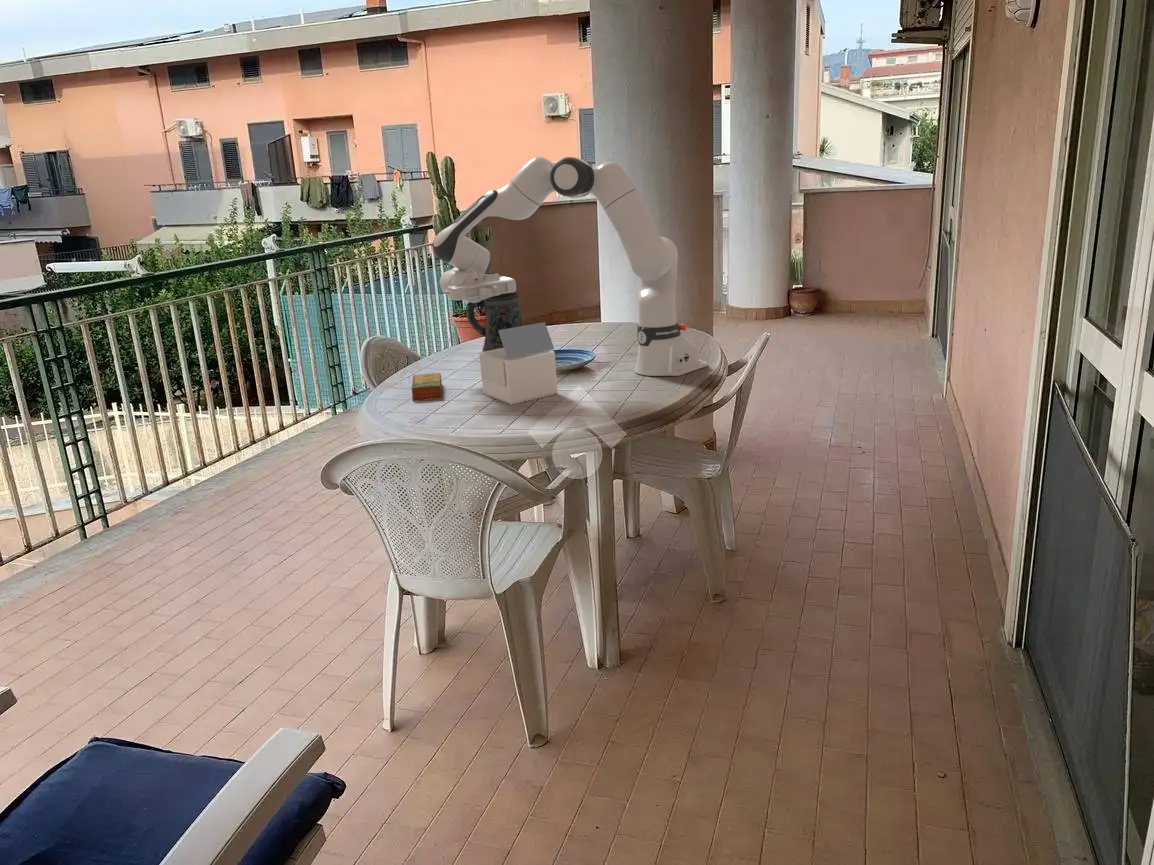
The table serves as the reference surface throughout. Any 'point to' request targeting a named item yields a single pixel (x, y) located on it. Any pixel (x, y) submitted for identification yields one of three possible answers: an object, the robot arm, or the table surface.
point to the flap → (526, 340)
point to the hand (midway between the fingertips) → (494, 291)
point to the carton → (426, 386)
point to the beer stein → (496, 318)
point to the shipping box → (518, 375)
